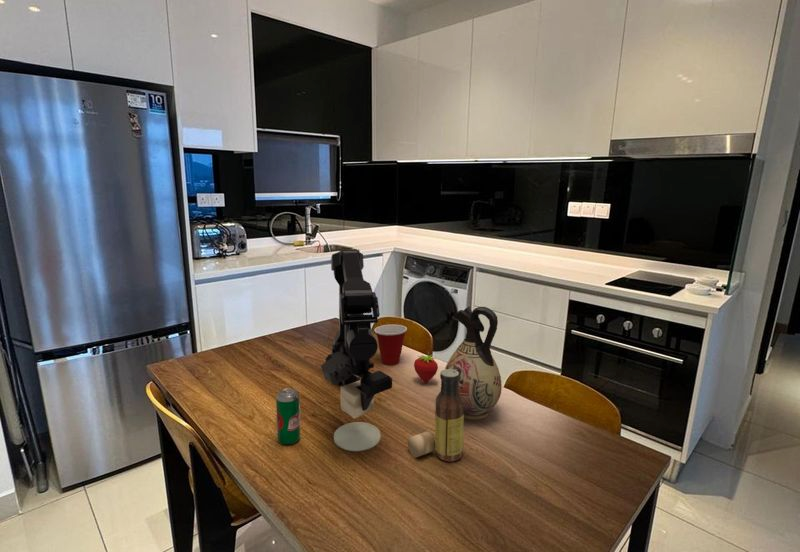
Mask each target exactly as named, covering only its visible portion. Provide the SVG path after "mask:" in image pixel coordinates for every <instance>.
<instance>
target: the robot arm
mask: <svg viewBox="0 0 800 552" xmlns="http://www.w3.org/2000/svg"><path fill="white" fill-rule="evenodd" d="M364 263H365V262H364V254H363V253H361V252H360V249H357V248H342V249H340V250H339V251H338V252H334V253H332V254H331V258H330V266H331V267H330V269H331V271H333V276H334V279H335V281H336V283H337V284H338V295H339V296H338V298H339V299H338V314H339V315H338V326H339V327H338V330H337V332H336V333H335V334H334V336H333V344H331V349H330V353H329V354H328V355H327V356H326V358H325V362H324V363H322V364H321V366H320V369H321V372H322V373H323V376H324V379H325V380H327V381H329V382H330V383H331V384H332V385H340V387H342V386H345V385H348V384H351V383H353V382H356V381H359V380H360V385H359V386H357V387H356V388H357V389H358V390H359V391H360V393H361V405H362V410H363V411H365V410H367V408H368V407H369V405H370V403H371V401H372V399H373V397H374V398H375V396H376V395H377V394H380V393H382V392H385V391H388V390H391V389H392V388H393V378H392V377H391V376H390V375H388V374H386V373H385V372H383V371H382V370H377V371H374V372H373V371H372V372H371V371H370V369H373V368H374V367H375V362H373V361H371V359H372V358H373V357H374V356H375V355H376V354H377V351H378V349H379V344H378V341H377V340H376V339H377V338H376V336H375V335H374V332H373V330H372V325H371V324H378V323H379V321H378V319H379V318H380V314H381V313H380V307H379V300H378V299H379V298H378V296H377V294H376V293H375V292H373V288H372V286H371V283H370V282H368V281H366V280H365V279H364V275H363V271H362V270H363V269H364Z"/></svg>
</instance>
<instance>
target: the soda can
mask: <svg viewBox="0 0 800 552" xmlns="http://www.w3.org/2000/svg"><path fill="white" fill-rule="evenodd" d="M275 400H276V403H275V404H276V423H277V424H276V427H277V441H278V442H279V443H281V444H282V445H285V446H289V445H294V444H296V443H298V441H299V440H300V438H301V408H300V409H299V405H300V395H299V393H298V390H297V389H294V388H289V387H288V388H284V389H281V390H279V391H278V393H277V395H276V397H275Z"/></svg>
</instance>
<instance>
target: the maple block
mask: <svg viewBox="0 0 800 552" xmlns="http://www.w3.org/2000/svg"><path fill="white" fill-rule="evenodd" d="M360 381H361V379H360V380H359V381H356V382H353V383H351V384H348V385H345V386H340V409H342V410H343V411H345V412H344V413H346V414H348V416H350V417H352V418H353V419H356V418H359V417H361V416H364V415H367V414H368V413H371V412H374V408H375V406H374V404H375V403H374V401H375V400H374V399H375V396H374V397H373V399H372V401H371V403H370V405H369V407H368V408H367V410H365V411H363V410H362V405H361V393H360V391H359V390H358V389H357V388H356V387H357V386H359V385H360ZM343 411H342V412H343Z"/></svg>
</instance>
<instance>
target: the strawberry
mask: <svg viewBox="0 0 800 552" xmlns="http://www.w3.org/2000/svg"><path fill="white" fill-rule="evenodd" d="M427 353H429V350H428V352H427ZM417 357H418V358H417V359H415V360H414V362H413V368H414V371H415V373H416V374H417V376H418V377H419V379H420V380H421V381H422V382H423V383H424V384H427V383H429V381H430V380H432V379H433V378H434V376H436V374H437V372H438V369H439V366H438V363H437V361H436V360H435V358H434V357H433V354H430V355H427V356H426V355H424V354H421V355H420V356H419V355H417Z"/></svg>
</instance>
